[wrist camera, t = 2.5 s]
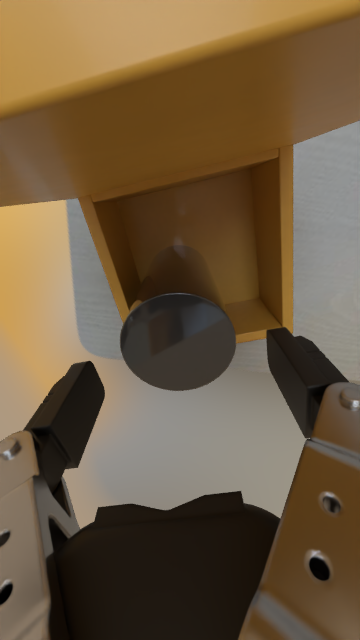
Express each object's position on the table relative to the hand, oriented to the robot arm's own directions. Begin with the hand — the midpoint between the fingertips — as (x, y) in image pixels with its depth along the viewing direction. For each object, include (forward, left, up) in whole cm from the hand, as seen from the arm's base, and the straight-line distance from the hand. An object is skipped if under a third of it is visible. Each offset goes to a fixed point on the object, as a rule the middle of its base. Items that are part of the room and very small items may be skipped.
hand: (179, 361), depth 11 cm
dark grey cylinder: (0, 0, -13) cm, 13 cm away
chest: (-2, +2, -14) cm, 14 cm away
